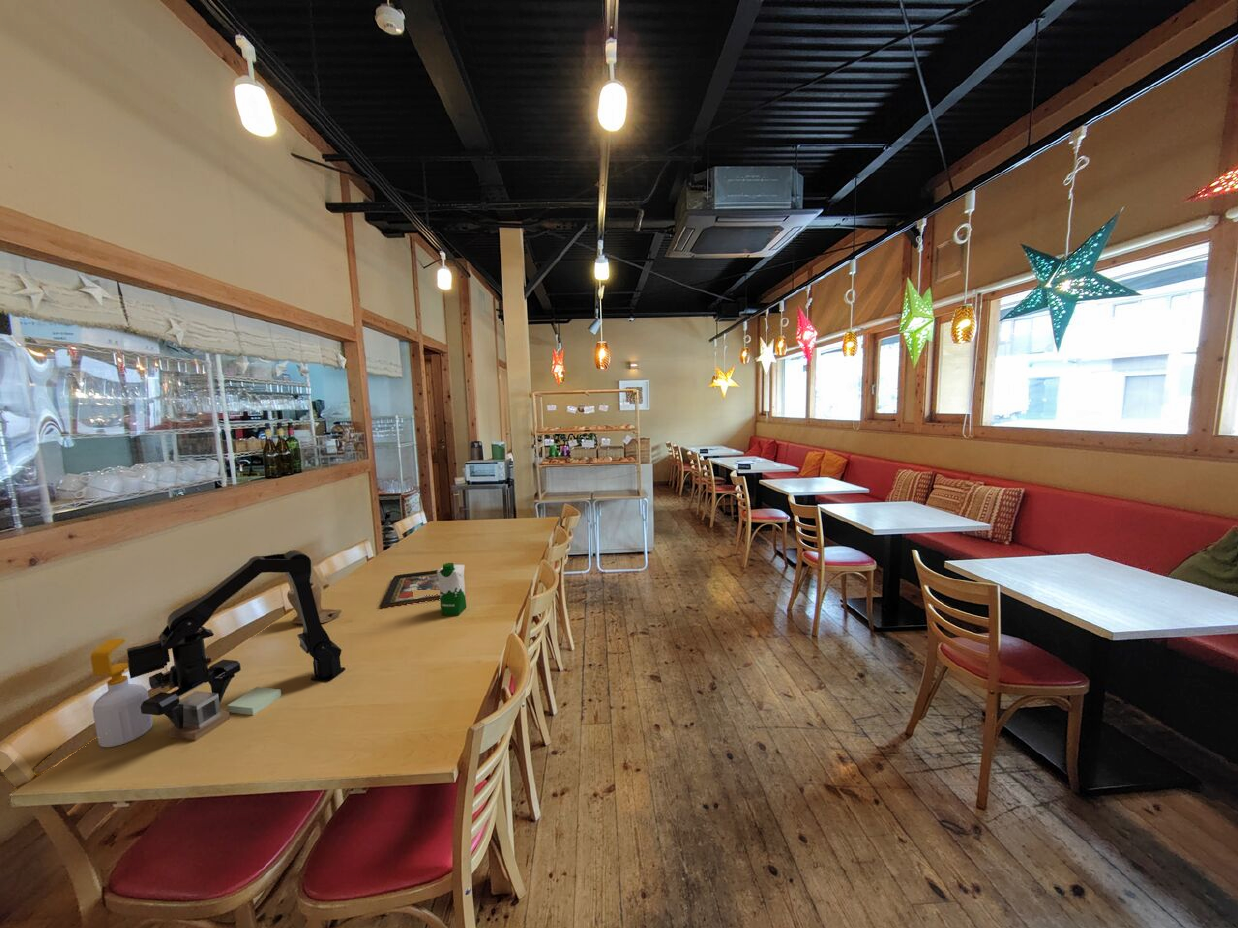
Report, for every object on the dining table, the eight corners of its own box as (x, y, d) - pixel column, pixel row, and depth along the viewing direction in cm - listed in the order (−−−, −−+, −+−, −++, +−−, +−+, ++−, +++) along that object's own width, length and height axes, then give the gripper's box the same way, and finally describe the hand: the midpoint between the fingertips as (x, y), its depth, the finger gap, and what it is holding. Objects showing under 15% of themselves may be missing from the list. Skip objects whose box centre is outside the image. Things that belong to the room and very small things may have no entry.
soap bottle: (163, 721, 116) (148, 632, 113) (125, 747, 107) (109, 651, 104) (127, 723, 116) (112, 633, 113) (87, 749, 107) (69, 652, 104)
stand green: (281, 695, 125) (280, 689, 125) (253, 715, 117) (252, 708, 117) (257, 693, 127) (256, 686, 126) (228, 712, 119) (227, 705, 119)
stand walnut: (229, 718, 116) (228, 711, 116) (195, 740, 109) (194, 733, 108) (204, 715, 118) (203, 708, 118) (169, 737, 110) (168, 729, 110)
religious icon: (384, 581, 211) (384, 575, 211) (462, 569, 226) (462, 563, 226) (380, 614, 177) (379, 607, 177) (472, 597, 192) (471, 591, 192)
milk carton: (438, 616, 172) (434, 566, 170) (449, 606, 181) (445, 558, 179) (459, 616, 171) (456, 566, 169) (469, 606, 180) (466, 558, 178)
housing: (221, 714, 115) (218, 693, 114) (199, 728, 110) (196, 706, 109) (199, 712, 116) (196, 690, 115) (177, 725, 111) (173, 703, 110)
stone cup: (282, 628, 166) (278, 589, 164) (308, 613, 178) (304, 577, 176) (319, 629, 164) (314, 590, 162) (343, 615, 176) (339, 578, 174)
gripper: (204, 637, 122) (212, 690, 123) (117, 678, 103) (127, 739, 105) (238, 640, 120) (245, 694, 121) (155, 682, 101) (165, 745, 103)
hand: (199, 716), depth 113 cm, fingers open, 8 cm apart
